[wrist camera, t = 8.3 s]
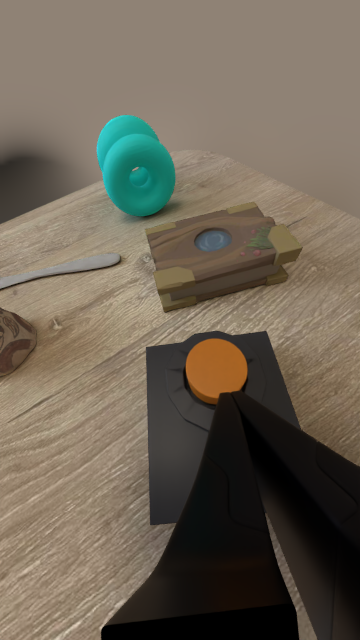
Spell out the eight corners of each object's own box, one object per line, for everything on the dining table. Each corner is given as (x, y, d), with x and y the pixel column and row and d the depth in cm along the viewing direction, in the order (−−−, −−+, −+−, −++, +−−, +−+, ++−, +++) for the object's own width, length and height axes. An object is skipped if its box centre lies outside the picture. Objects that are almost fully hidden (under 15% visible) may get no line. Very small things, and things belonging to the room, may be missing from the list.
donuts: (120, 227, 33) (90, 151, 24) (110, 194, 38) (83, 121, 29) (181, 210, 33) (173, 129, 25) (164, 180, 38) (152, 104, 30)
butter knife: (119, 266, 27) (118, 249, 29) (-80, 306, 28) (-72, 287, 29) (120, 269, 28) (120, 252, 29) (-75, 308, 28) (-67, 290, 30)
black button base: (298, 491, 15) (347, 516, 10) (162, 506, 16) (141, 538, 10) (255, 349, 21) (272, 319, 16) (155, 363, 21) (140, 337, 16)
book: (164, 313, 24) (155, 286, 20) (147, 250, 29) (138, 217, 25) (285, 281, 25) (303, 247, 20) (247, 224, 30) (254, 188, 26)
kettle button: (247, 401, 13) (255, 394, 11) (191, 408, 13) (189, 402, 11) (234, 348, 15) (239, 334, 13) (185, 355, 15) (182, 342, 13)
